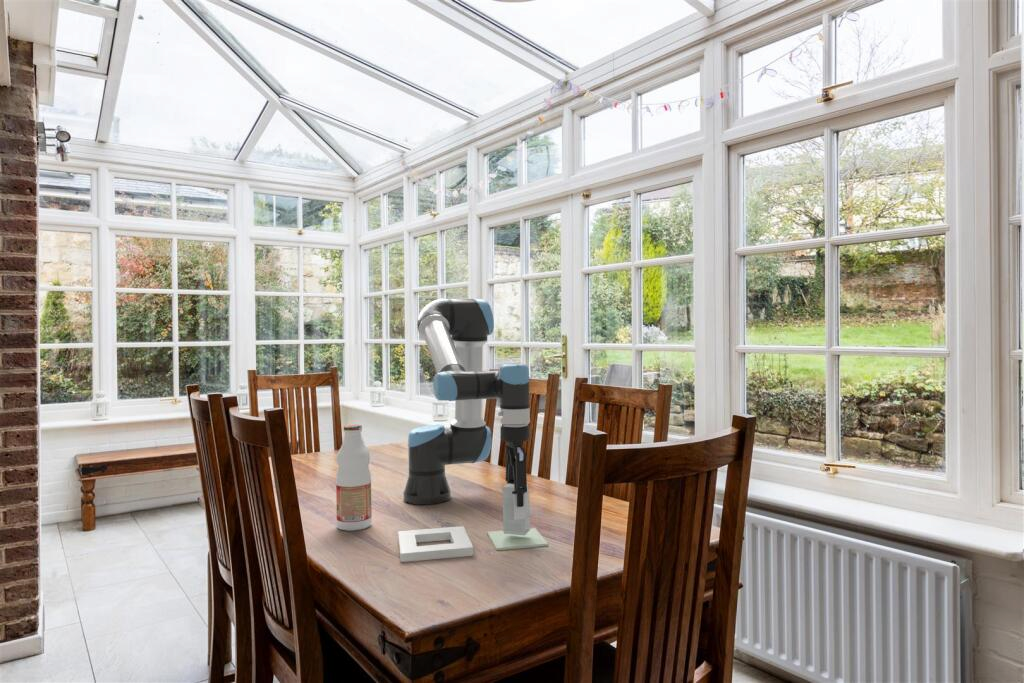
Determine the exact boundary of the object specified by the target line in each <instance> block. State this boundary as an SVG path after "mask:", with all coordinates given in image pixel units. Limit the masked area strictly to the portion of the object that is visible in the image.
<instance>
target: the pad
mask: <svg viewBox="0 0 1024 683" xmlns="http://www.w3.org/2000/svg"><path fill="white" fill-rule="evenodd" d="M486 534H488V535H487V536H488V538H489V540H490V542H491V541H492V542H491V543H492V546H493V547H494V548H495V550H496V551H497V550H498V551H506V550H508V551H509V550H516V549H519V550H520V549H528V548H529V549H531V548H538V547H539V548H541V547H549V542H547V540H546V539H545V538H544V537H543V536H542V534H541V533H540V532H539V530H538V529H537V528H536V527H530V531H529V532H528V533H527V534H526V535H514V534H504V533H503V530H494V531H492V530H491V531H487V532H486Z"/></svg>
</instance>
